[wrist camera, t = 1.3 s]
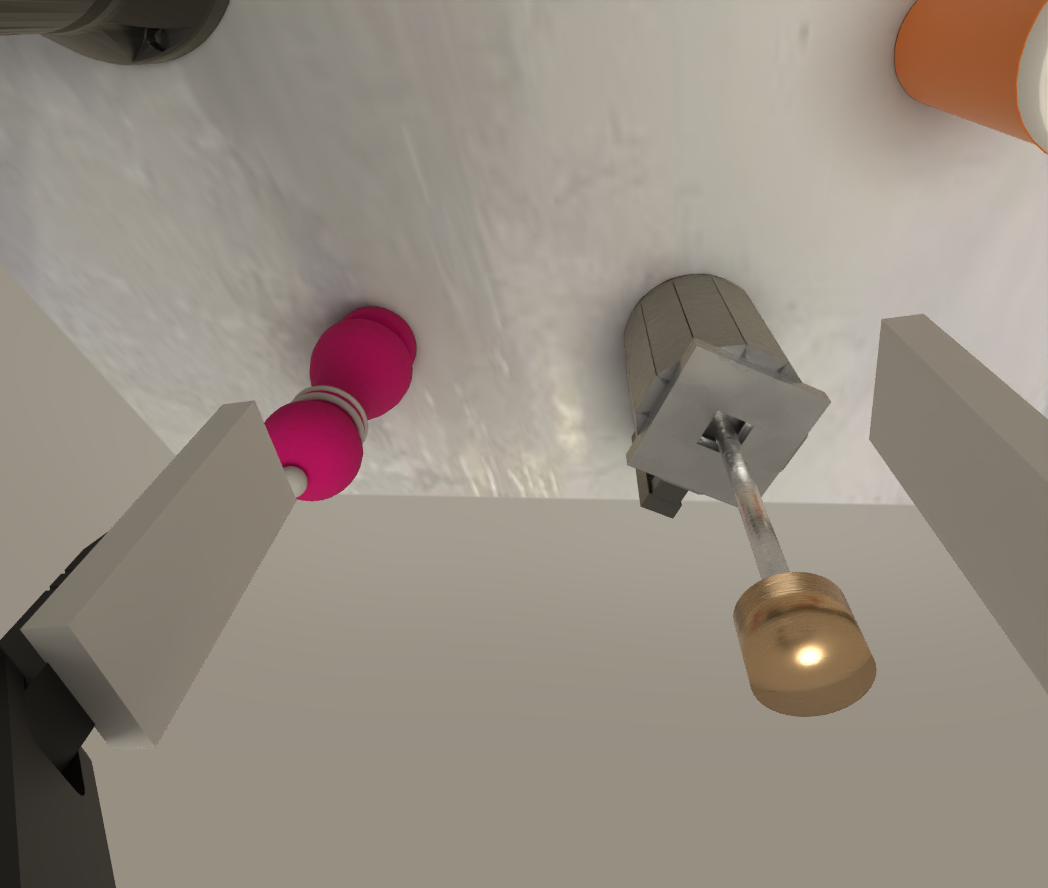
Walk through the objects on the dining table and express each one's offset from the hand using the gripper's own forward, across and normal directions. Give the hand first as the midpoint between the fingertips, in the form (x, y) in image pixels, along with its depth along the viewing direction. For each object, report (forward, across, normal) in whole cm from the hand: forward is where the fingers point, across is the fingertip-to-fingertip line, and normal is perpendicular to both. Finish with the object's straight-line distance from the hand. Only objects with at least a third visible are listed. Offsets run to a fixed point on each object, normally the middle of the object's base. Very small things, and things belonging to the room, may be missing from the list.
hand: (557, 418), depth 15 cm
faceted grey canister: (+36, +7, -16) cm, 40 cm away
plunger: (+25, +7, -15) cm, 30 cm away
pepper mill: (+37, -17, -12) cm, 42 cm away
